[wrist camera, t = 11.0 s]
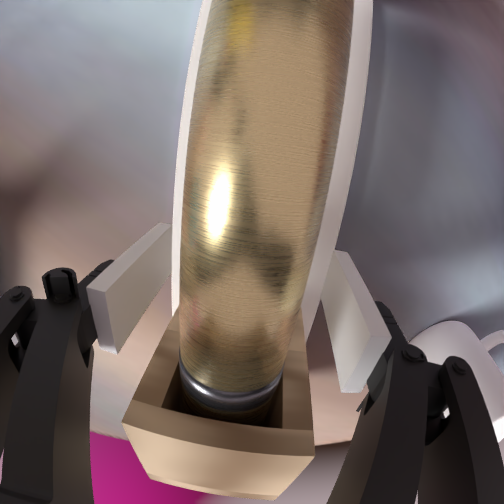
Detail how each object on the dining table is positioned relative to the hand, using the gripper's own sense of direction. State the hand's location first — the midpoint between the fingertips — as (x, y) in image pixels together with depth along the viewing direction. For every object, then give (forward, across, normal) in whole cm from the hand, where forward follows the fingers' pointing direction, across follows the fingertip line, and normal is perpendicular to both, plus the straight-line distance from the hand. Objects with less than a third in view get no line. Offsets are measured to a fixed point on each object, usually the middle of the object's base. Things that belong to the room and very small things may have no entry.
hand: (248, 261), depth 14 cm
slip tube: (-3, 0, +4) cm, 5 cm away
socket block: (+2, 0, -6) cm, 7 cm away
